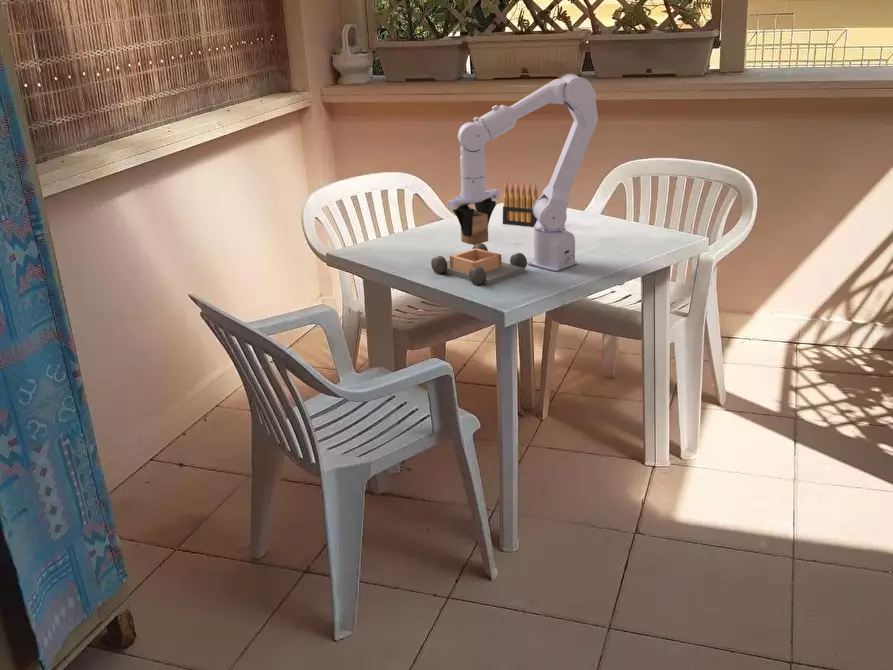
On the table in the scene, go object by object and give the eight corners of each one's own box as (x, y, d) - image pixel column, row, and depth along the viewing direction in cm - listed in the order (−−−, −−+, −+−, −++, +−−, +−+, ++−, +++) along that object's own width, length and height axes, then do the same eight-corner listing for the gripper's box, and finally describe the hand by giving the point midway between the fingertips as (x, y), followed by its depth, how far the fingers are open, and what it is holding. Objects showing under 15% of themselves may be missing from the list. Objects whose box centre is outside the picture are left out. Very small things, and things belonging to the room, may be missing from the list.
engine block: (488, 241, 209) (487, 210, 206) (474, 245, 206) (472, 214, 203) (475, 237, 212) (474, 207, 209) (461, 241, 209) (460, 211, 207)
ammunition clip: (502, 224, 249) (501, 182, 245) (505, 222, 251) (504, 180, 246) (537, 227, 244) (536, 184, 240) (539, 225, 246) (539, 183, 241)
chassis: (528, 271, 209) (528, 254, 207) (482, 287, 199) (482, 269, 198) (475, 256, 221) (475, 240, 219) (430, 271, 212) (429, 254, 210)
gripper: (483, 168, 210) (485, 224, 215) (438, 179, 202) (441, 237, 207) (504, 172, 205) (506, 229, 210) (458, 183, 197) (461, 242, 202)
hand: (475, 233), depth 208 cm, fingers closed on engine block, 4 cm apart
